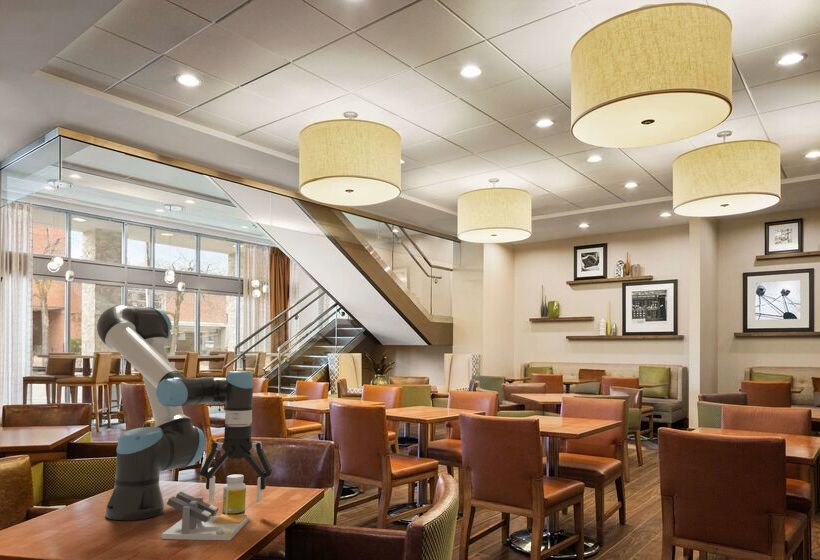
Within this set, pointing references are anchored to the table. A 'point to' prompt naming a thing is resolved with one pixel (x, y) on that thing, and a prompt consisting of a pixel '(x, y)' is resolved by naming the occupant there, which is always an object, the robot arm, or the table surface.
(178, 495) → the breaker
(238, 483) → the pill bottle
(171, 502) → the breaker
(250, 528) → the table surface
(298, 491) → the table surface
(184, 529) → the breaker panel
